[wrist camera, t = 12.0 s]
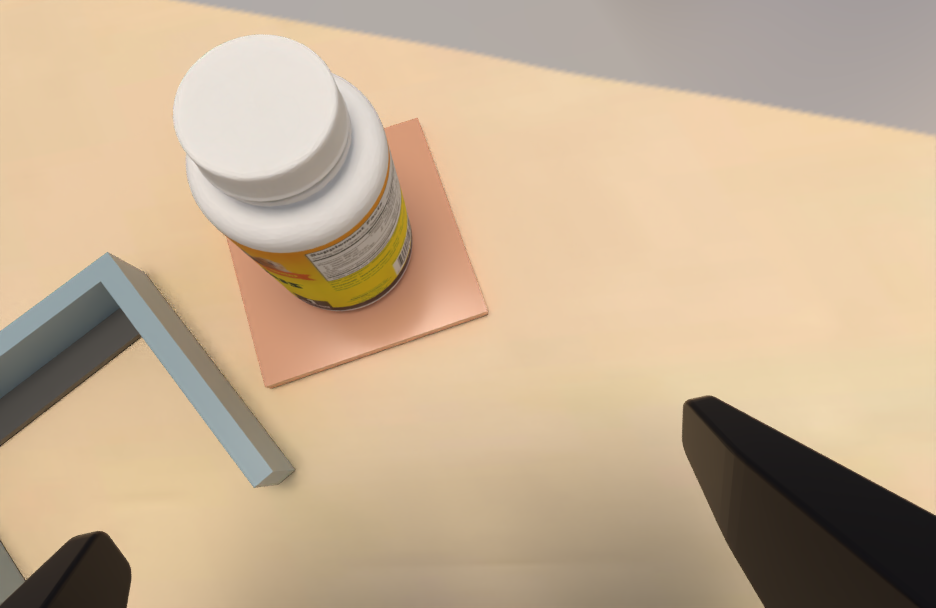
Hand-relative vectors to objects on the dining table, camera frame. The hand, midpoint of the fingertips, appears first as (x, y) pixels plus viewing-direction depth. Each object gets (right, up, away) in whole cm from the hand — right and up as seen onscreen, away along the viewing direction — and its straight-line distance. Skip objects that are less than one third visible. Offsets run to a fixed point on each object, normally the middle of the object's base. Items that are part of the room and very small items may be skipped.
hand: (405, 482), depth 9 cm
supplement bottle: (-4, +5, +15) cm, 16 cm away
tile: (-4, +5, +15) cm, 17 cm away
